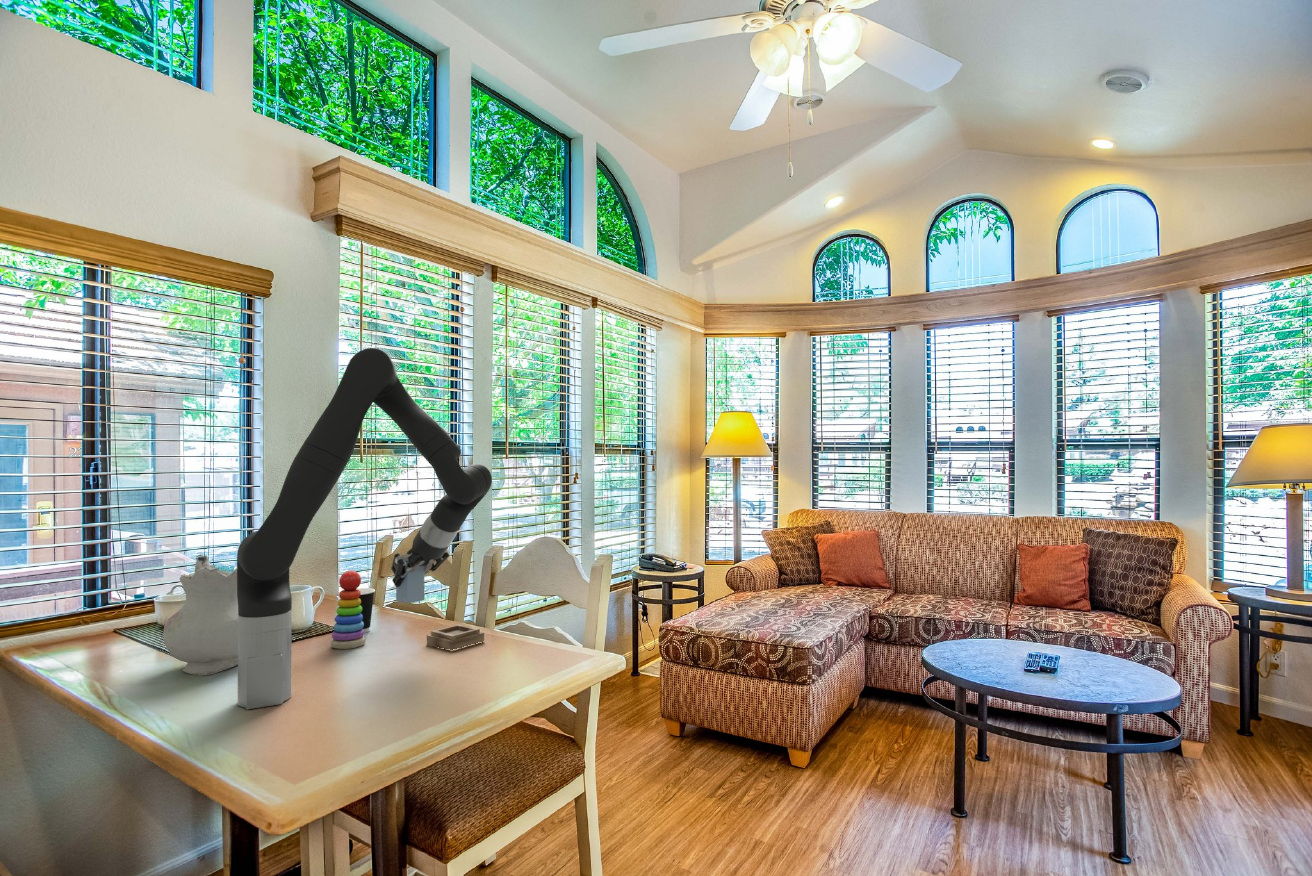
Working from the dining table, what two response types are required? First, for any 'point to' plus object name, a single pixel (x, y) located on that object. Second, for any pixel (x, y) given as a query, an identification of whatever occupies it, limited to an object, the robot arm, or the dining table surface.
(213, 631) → the ceramic pitcher
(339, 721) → the dining table surface
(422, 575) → the slate-blue pillar
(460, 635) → the walnut socket base
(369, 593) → the dixie cup
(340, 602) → the stacking toy
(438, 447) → the robot arm
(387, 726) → the dining table surface
